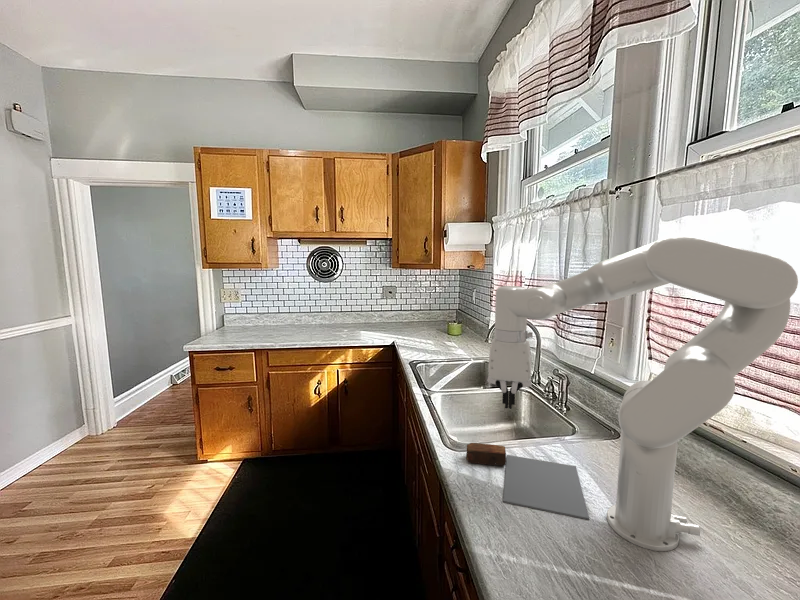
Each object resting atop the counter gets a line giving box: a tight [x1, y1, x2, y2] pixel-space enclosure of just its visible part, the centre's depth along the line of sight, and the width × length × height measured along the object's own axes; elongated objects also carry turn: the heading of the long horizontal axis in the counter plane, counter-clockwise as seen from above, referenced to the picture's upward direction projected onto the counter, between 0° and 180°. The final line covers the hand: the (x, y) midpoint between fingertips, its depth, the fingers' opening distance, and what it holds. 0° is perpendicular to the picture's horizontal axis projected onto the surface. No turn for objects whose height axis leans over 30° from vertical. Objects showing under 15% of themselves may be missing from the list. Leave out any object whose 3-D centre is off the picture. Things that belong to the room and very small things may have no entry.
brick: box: [465, 442, 507, 467], centre depth 101 cm, size 11×4×5 cm
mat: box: [502, 454, 590, 521], centre depth 91 cm, size 18×21×1 cm
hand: (508, 406), depth 91 cm, fingers closed
